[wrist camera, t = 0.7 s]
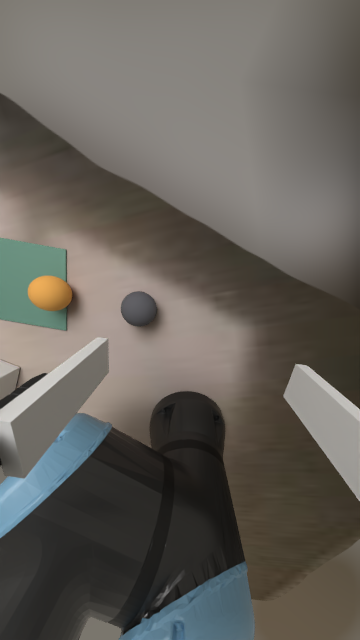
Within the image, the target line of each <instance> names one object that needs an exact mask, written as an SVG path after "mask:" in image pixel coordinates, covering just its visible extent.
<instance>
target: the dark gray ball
mask: <svg viewBox="0 0 360 640" xmlns="http://www.w3.org/2000/svg"><path fill="white" fill-rule="evenodd" d="M156 312H157V307H156V303H155V301H154V299H153V298H152V297H151V296H150V295H149V294H147V293H144V292H133V293H130V294H129V295H127V296H126V297H125V298H124V300H123V302H122V304H121V313H122V316H123V318H124V319H125V320H126V321H127V322H128V323H129V324H131V325H134V326H145V325H147V324H149V323H150V322H151V321H152V320H153V319H154V318H155V316H156Z"/></svg>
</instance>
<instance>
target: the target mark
mask: <svg viewBox="0 0 360 640" xmlns="http://www.w3.org/2000/svg"><path fill="white" fill-rule="evenodd" d="M41 276H55V277H58V278H60V279H62V280H64V281H65V282H66V283H67V267H66V250H65V249H60V248H54V247H49V246H43V245H38V244H32V243H26V242H21V241H15V240H10V239H4V238H0V319H2V320H8V321H14V322H20V323H25V324H31V325H37V326H43V327H49V328H54V329H60V330H67V306H66V307H65V308H63V309H61V310H58V311H47V310H43V309H40V308H38V307H37V306H35V305H34V304H33V303H32V302H31V300H30V299H29V296H28V287H29V285H30V283H31V282H32V281H33V280H34V279H36V278H38V277H41Z"/></svg>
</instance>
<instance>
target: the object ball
mask: <svg viewBox="0 0 360 640" xmlns="http://www.w3.org/2000/svg"><path fill="white" fill-rule="evenodd" d="M28 296H29V299H30V300H31V302H32V303H33V304H34V305H35V306H37V307H38V308H40V309H43V310H47V311H58V310H61V309H63V308H65V307H66V306H68V305H69V303H70V302H71V299H72V291H71V288H70V286H69V285H68V284H67V283H66V282H65V281H64V280H62V279H60V278H58V277H55V276H41V277H38V278H36V279H34V280H33V281H32V282H31V283H30V285H29V287H28Z"/></svg>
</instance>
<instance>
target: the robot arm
mask: <svg viewBox="0 0 360 640" xmlns="http://www.w3.org/2000/svg"><path fill="white" fill-rule="evenodd" d="M108 372H109V362H108V339H107V338H100V337H97V338H96V339H94V340H93V341H92V342H90V343H89V344H88V345H86V346H85V347H84V348H82V349H81V350H80V351H78V352H77V353H76V354H74V355H73V356H71V357H70V358H69V359H67V360H66V361H65V362H63V363H62V364H61V365H59V366H58V367H57V368H55V369H54V370H53V371H51V372H50V373H49V374H47V373H43V374H41V375H39V376H36V377H34V378H32V379H30V380H29V381H27V382H26V383H24V384H23V385H21V386H20V388H17V389H16V390H14V391H13V392H11V394H10V395H7V396H6V397H4V398H3V399H1V400H0V465H2V469H3V472H4V475H5V476H8V477H7V478H6V479H5V480H4V481H3V482H2V484H1V485H0V640H79V638H80V635H81V633H82V631H83V629H84V626H85V624H86V623H87V621H88V619H89V618H90V617H93V618H96V619H98V620H101V621H104V622H108V623H110V624H113V625H115V626H118V627H119V628H121V630H122V632H121V637H120V638H119V640H253V639H254V630H255V621H254V613H253V607H252V602H251V596H250V590H249V584H248V579H247V565H246V562H245V558H244V553H243V549H242V544H241V540H240V535H239V531H238V526H237V522H236V517H235V513H234V508H233V504H232V499H231V495H230V490H229V486H228V481H227V477H226V472H225V468H224V463H223V450H224V439H225V424H224V420H223V416H222V413H221V410H220V408H219V407H218V406H217V404H216V403H215V402H214V401H213V400H211V399H210V398H208V397H207V396H205V395H202V394H200V393H196V392H177V393H174V394H171V395H169V396H167V397H165V398H163V399H162V400H161V401H160V402H159V403H158V404H157V405H156V407H155V408H154V410H153V413H152V417H151V421H150V439H151V447H152V449H151V448H150V447H148V446H146V445H144V444H142V443H141V442H139V441H137V440H135V439H133V438H131V437H130V436H128V435H126V434H124V433H122V432H121V431H119V430H117V429H115V428H113V427H112V424H110V423H109V422H107V423H105V422H103V421H100V420H98V419H96V418H94V417H92V416H90V415H88V414H85V413H77V412H78V410H79V409H80V408H81V406H82V405H83V404H84V403H85V401H86V400H87V399H88V398H89V396H90V395H91V394H92V392H93V391H94V390H95V389H96V387H97V386H98V385H99V384H100V382H101V381H102V380H103V379H104V377H105V376H106V375H107V373H108ZM283 397H284V398H285V399H286V401H287V402H288V403H289V405H290V406H291V407H292V409H293V410H294V412H295V413H296V414H297V416H298V417H299V418H300V420H301V421H302V423H303V424H304V425H305V427H306V428H307V429H308V431H309V432H310V434H311V435H312V436H313V438H314V439H315V440H316V442H317V443H318V445H319V446H320V447H321V449H322V450H323V451H324V453H325V454H326V456H327V457H328V458H329V460H330V461H331V462H332V464H333V465H334V467H335V468H336V469H337V471H338V472H339V473H340V475H341V476H342V478H343V479H344V480H345V482H346V483H347V484H348V486H349V487H350V489H351V490H352V491H353V493H354V494H355V495H356V497H357V498H358V500H359V501H360V409H359V408H357V407H356V406H355V405H354V404H353V403H351V402H350V401H349V400H348V399H347V398H345V397H344V396H343V395H342V394H341V393H339V392H338V391H337V390H336V389H335V388H333V387H332V386H331V385H330V384H329V383H327V382H326V381H325V380H324V379H323V378H321V377H320V376H319V375H318V374H316V373H315V372H314V371H313V370H312V369H310V368H309V367H308V366H306V365H299V364H296V365H295V367H294V370H293V373H292V375H291V378H290V380H289V383H288V386H287V388H286V391H285V393H284V396H283ZM76 413H77V414H76Z"/></svg>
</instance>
